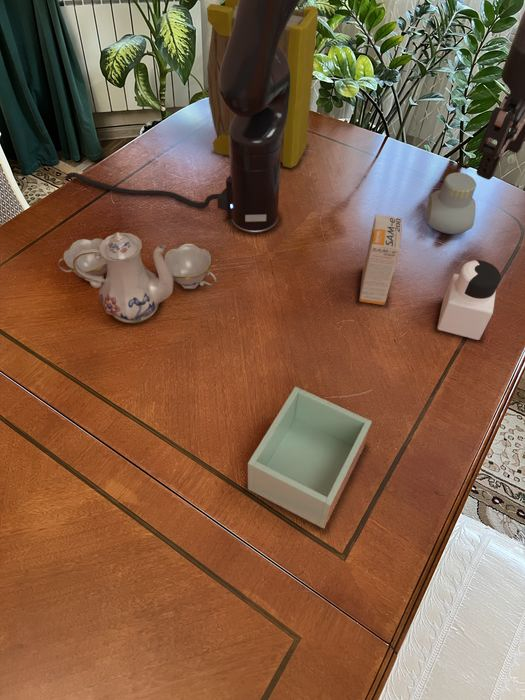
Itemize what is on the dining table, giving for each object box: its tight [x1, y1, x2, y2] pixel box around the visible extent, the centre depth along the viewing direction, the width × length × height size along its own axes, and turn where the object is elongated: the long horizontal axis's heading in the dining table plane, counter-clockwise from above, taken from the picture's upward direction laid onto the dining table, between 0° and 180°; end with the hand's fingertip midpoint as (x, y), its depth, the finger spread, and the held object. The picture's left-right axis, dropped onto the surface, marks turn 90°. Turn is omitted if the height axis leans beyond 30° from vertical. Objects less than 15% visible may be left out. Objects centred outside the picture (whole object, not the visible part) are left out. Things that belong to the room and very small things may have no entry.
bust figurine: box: [437, 259, 502, 341], centre depth 94 cm, size 7×7×12 cm
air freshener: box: [425, 172, 477, 235], centre depth 111 cm, size 11×8×10 cm
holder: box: [247, 386, 373, 530], centre depth 78 cm, size 12×14×8 cm
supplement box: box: [358, 214, 404, 306], centre depth 98 cm, size 8×5×13 cm, turn 168°
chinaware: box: [57, 231, 218, 324], centre depth 96 cm, size 28×17×17 cm, turn 91°
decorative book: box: [206, 0, 319, 169], centre depth 118 cm, size 20×11×30 cm, turn 69°
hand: (497, 162), depth 81 cm, fingers open, 8 cm apart
